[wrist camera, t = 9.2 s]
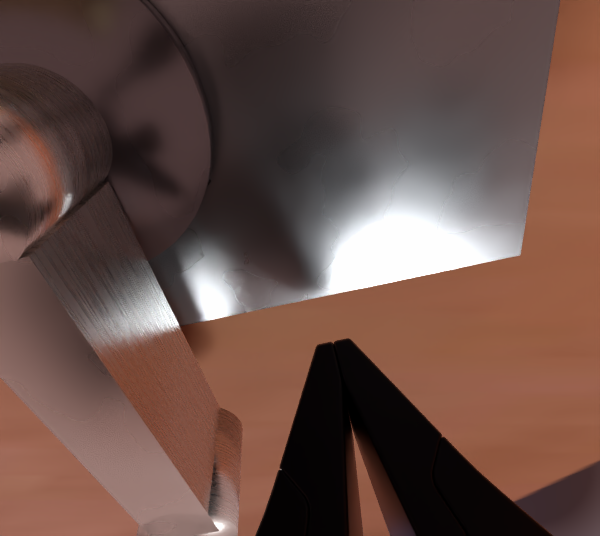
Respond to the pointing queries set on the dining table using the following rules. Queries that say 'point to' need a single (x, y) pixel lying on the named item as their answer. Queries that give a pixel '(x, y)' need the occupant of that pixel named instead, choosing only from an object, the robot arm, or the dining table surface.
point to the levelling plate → (355, 144)
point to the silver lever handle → (109, 255)
